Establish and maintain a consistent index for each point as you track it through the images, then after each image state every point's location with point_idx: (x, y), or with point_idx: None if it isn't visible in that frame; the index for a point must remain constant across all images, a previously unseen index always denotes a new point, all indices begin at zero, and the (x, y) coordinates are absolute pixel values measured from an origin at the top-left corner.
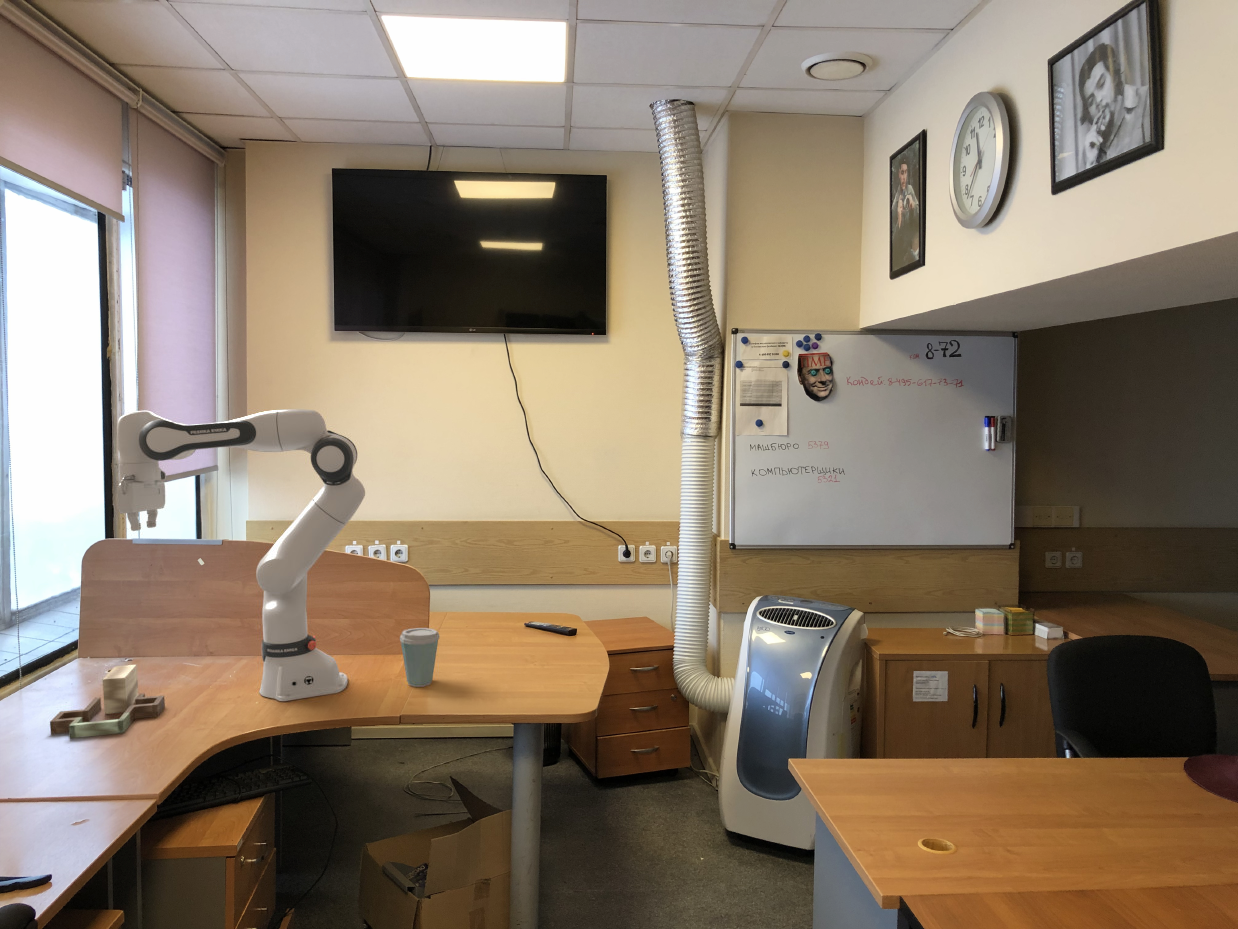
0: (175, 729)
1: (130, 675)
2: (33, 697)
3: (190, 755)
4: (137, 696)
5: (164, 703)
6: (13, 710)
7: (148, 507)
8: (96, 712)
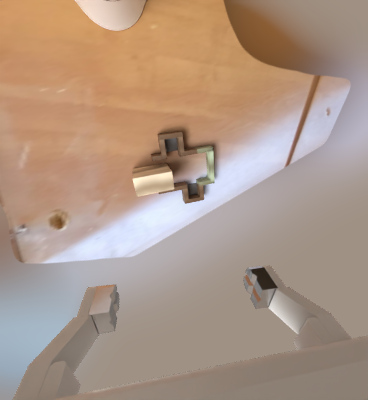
0: (210, 102)
1: (154, 173)
2: (129, 246)
3: (265, 68)
4: (159, 159)
5: (158, 134)
6: (154, 242)
7: (242, 387)
8: None
